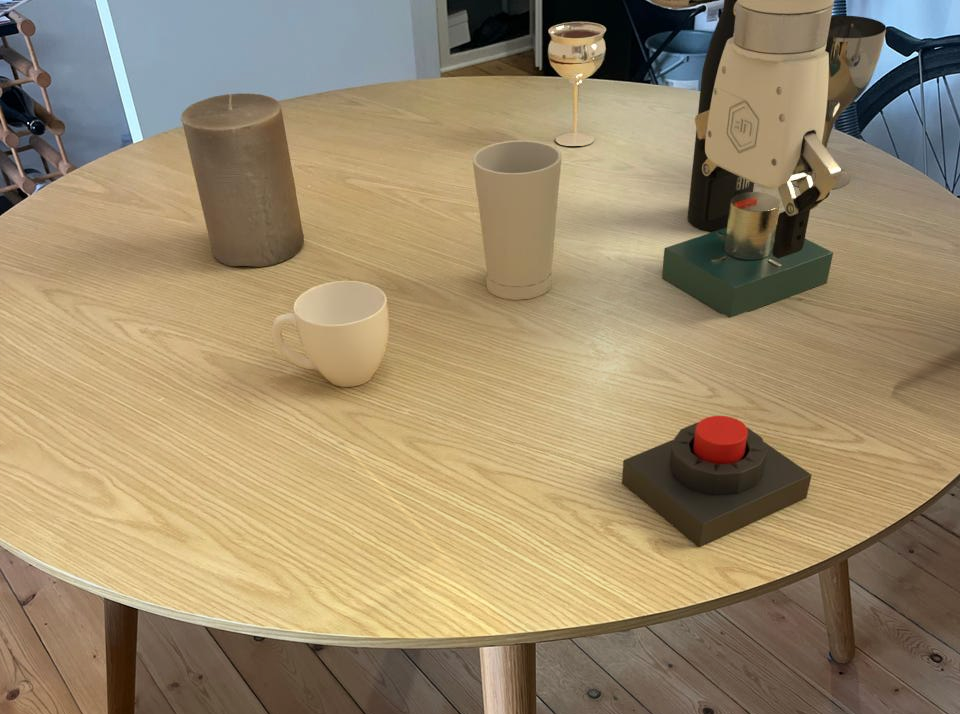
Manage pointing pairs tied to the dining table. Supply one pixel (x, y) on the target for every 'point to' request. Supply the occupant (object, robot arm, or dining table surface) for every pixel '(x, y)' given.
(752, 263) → the dial panel
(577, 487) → the dining table surface
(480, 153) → the cup
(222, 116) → the pillar candle
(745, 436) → the red button
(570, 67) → the wineglass
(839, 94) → the metal goblet
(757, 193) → the dial
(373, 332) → the cup
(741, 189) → the wine bottle
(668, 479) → the red button base
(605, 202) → the dining table surface
